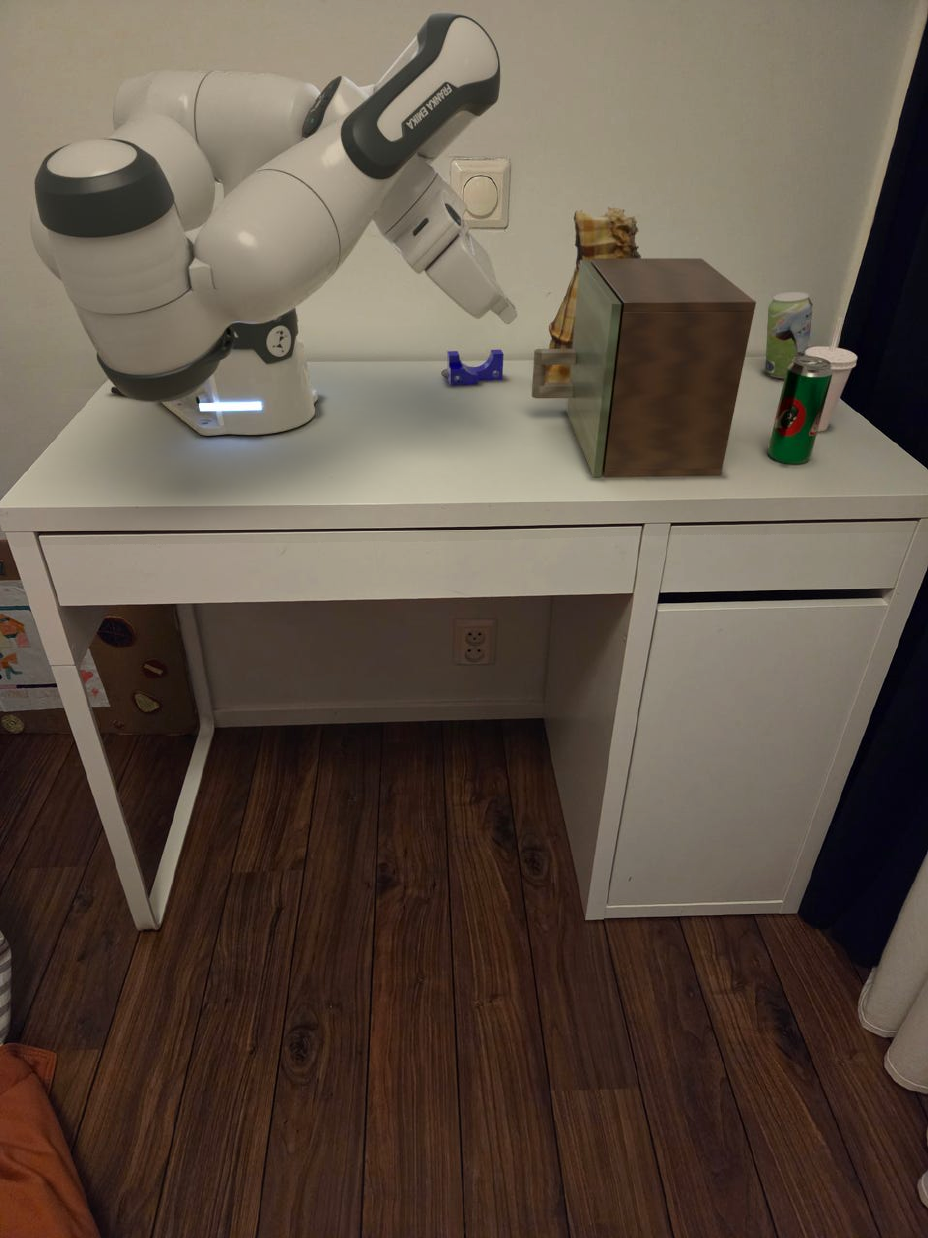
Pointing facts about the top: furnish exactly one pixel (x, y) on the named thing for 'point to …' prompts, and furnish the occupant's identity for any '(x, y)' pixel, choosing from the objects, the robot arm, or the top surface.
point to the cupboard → (673, 366)
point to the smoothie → (834, 373)
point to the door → (586, 365)
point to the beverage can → (787, 331)
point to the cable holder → (474, 369)
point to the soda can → (800, 409)
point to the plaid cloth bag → (592, 241)
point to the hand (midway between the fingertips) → (512, 316)
